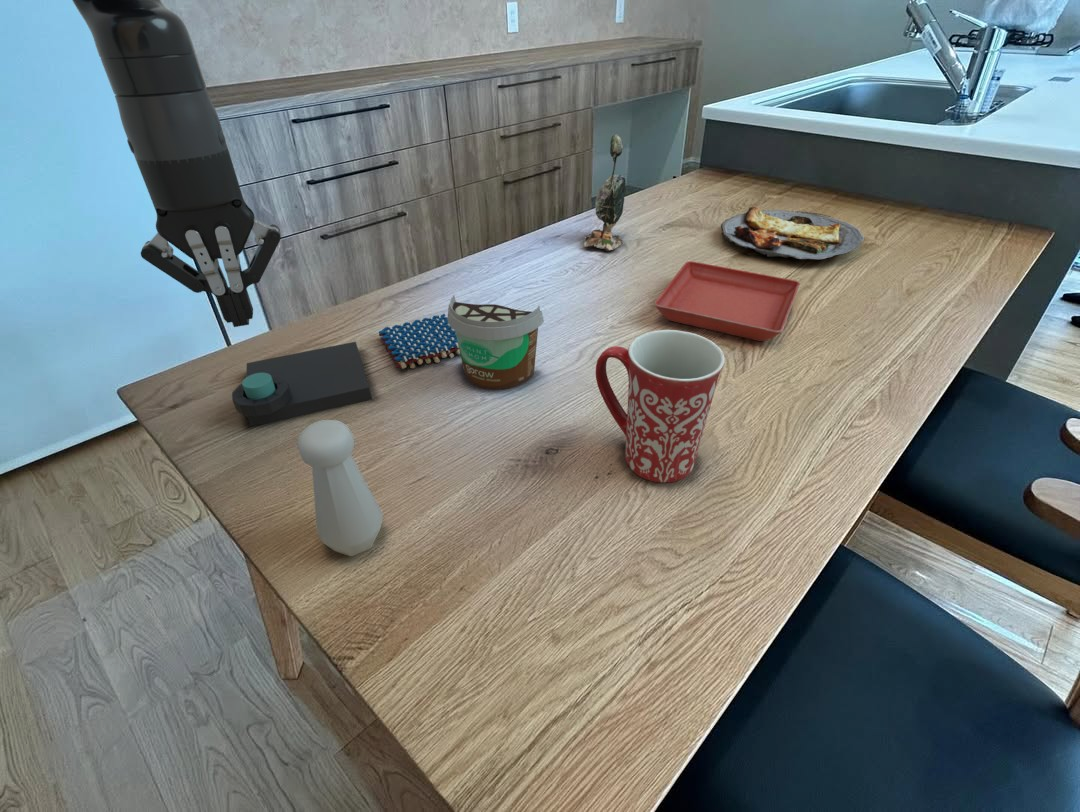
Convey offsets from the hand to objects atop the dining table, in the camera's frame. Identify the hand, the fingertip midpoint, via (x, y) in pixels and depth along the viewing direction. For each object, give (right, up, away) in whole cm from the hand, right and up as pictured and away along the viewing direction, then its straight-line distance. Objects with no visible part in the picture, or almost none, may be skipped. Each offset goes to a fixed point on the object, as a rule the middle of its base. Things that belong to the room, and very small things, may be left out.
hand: (241, 323), depth 62 cm
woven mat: (+16, -1, +21) cm, 26 cm away
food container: (+26, -6, +13) cm, 29 cm away
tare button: (-1, -7, +6) cm, 10 cm away
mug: (+43, -14, +2) cm, 46 cm away
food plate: (+79, +22, +50) cm, 96 cm away
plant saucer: (+60, +6, +28) cm, 67 cm away
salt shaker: (+15, -21, -7) cm, 27 cm away
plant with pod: (+44, +23, +51) cm, 71 cm away
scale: (+2, -6, +13) cm, 14 cm away
